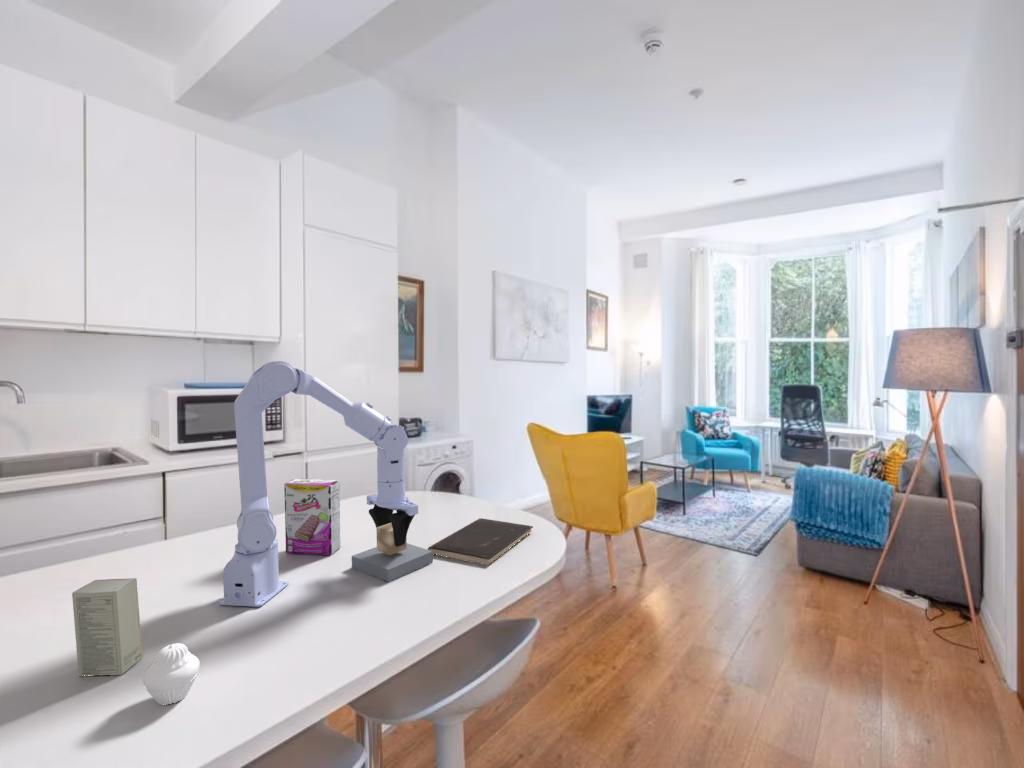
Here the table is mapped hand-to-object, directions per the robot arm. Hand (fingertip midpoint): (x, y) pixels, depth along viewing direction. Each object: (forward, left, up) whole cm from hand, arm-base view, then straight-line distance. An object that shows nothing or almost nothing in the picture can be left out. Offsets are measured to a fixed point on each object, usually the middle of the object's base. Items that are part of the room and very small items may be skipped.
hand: (392, 542), depth 107 cm
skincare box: (-39, +28, -5) cm, 48 cm away
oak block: (0, 0, -2) cm, 2 cm away
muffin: (-44, +14, -5) cm, 46 cm away
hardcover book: (+15, -17, -6) cm, 24 cm away
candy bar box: (+6, +21, -5) cm, 22 cm away
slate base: (0, 0, -5) cm, 5 cm away
